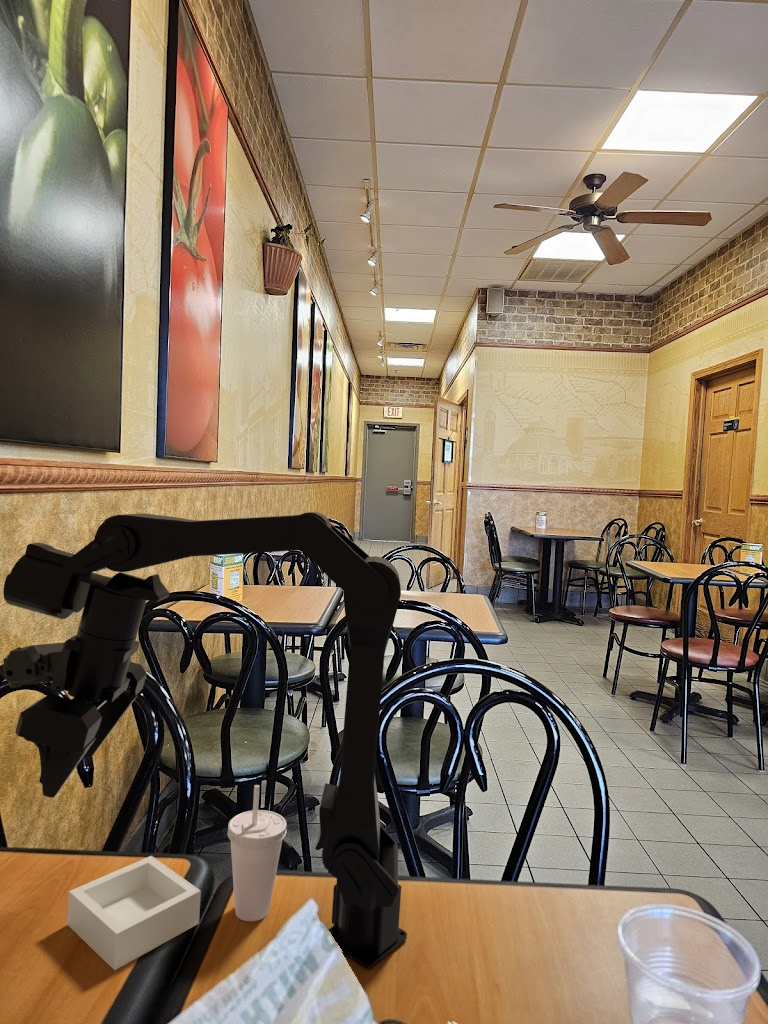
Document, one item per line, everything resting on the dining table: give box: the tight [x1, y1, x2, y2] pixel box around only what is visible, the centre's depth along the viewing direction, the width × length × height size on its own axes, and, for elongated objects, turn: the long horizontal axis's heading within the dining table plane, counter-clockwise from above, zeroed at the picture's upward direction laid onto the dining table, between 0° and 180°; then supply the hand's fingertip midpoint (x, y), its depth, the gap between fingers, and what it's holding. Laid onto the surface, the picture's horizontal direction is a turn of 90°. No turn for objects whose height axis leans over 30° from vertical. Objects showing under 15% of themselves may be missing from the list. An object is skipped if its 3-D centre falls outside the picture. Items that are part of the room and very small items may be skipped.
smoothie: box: [227, 784, 288, 922], centre depth 71 cm, size 6×6×14 cm
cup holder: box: [66, 855, 202, 971], centre depth 68 cm, size 9×9×4 cm
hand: (68, 775), depth 67 cm, fingers open, 9 cm apart
